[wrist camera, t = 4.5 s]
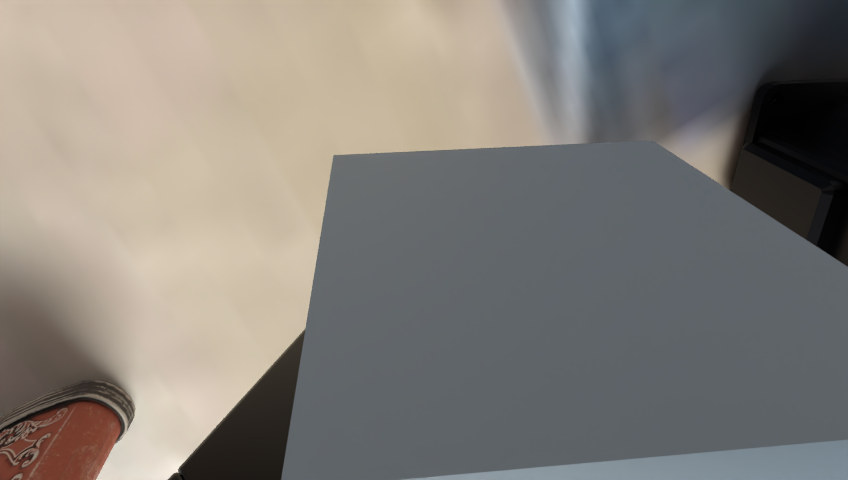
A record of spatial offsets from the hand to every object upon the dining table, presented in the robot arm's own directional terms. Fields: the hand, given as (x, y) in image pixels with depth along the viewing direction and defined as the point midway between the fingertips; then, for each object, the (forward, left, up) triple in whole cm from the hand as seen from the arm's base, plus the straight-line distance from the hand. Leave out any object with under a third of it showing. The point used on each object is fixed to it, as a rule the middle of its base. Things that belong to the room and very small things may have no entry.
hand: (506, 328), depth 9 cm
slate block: (0, 0, -1) cm, 1 cm away
